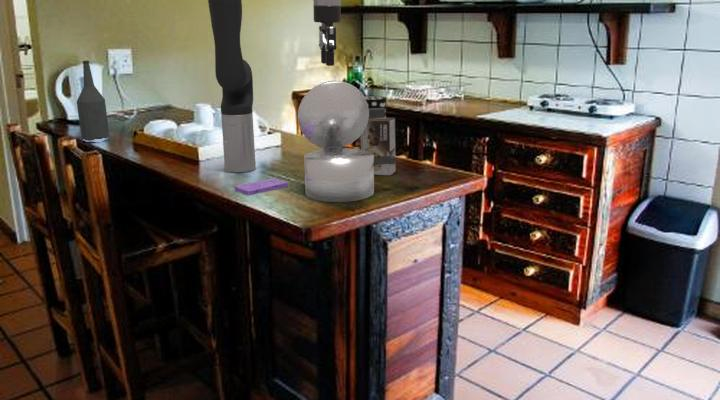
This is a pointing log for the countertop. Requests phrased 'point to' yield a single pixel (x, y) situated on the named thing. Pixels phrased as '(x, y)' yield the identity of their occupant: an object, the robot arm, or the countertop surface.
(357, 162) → the pot
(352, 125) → the lid
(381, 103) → the white-spotted black cylinder
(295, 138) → the countertop surface
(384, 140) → the coffee box
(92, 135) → the bottle
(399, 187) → the countertop surface
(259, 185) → the sponges
